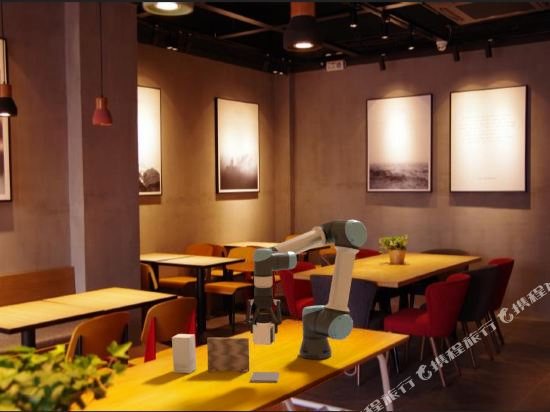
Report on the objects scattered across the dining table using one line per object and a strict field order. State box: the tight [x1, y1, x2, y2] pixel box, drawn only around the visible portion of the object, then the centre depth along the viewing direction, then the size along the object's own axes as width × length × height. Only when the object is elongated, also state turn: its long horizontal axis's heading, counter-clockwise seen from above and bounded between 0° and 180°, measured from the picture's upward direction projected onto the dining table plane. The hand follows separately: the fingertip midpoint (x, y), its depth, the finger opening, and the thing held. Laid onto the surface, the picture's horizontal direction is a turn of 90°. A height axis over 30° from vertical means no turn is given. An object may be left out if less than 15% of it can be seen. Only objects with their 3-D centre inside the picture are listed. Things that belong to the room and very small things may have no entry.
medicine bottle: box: [253, 312, 274, 346], centre depth 246 cm, size 7×7×12 cm
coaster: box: [249, 371, 280, 383], centre depth 247 cm, size 11×11×1 cm
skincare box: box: [171, 333, 197, 374], centre depth 258 cm, size 8×7×16 cm
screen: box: [206, 337, 250, 373], centre depth 258 cm, size 18×6×14 cm, turn 85°
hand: (264, 341), depth 246 cm, fingers closed on medicine bottle, 7 cm apart
